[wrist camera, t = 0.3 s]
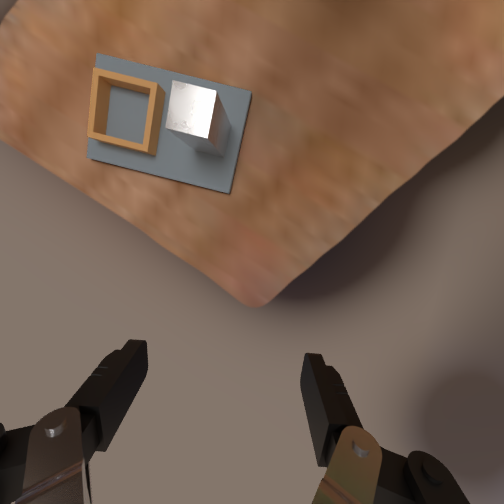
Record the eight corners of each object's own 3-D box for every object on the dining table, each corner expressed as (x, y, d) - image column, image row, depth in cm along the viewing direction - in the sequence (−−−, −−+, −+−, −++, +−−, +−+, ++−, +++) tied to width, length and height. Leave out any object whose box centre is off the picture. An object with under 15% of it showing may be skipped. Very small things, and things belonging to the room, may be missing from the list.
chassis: (101, 57, 33) (82, 40, 30) (251, 94, 33) (250, 81, 30) (91, 158, 36) (73, 154, 33) (229, 193, 36) (226, 192, 32)
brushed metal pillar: (200, 117, 33) (172, 79, 23) (231, 124, 33) (216, 90, 23) (194, 150, 34) (165, 127, 24) (224, 157, 34) (207, 138, 24)
